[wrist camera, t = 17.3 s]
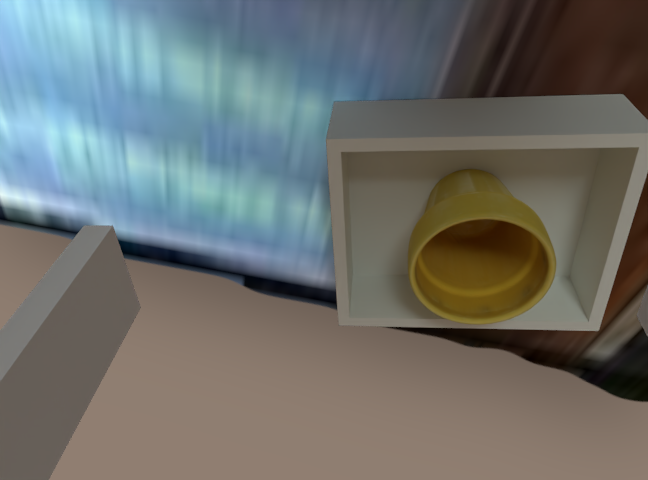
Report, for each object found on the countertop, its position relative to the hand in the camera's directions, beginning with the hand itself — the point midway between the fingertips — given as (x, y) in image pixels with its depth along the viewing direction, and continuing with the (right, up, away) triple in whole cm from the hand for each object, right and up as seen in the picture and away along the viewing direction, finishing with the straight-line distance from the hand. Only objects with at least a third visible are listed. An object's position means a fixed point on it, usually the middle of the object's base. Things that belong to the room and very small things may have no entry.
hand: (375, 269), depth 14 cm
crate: (+11, +4, +35) cm, 37 cm away
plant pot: (+11, +4, +34) cm, 36 cm away
